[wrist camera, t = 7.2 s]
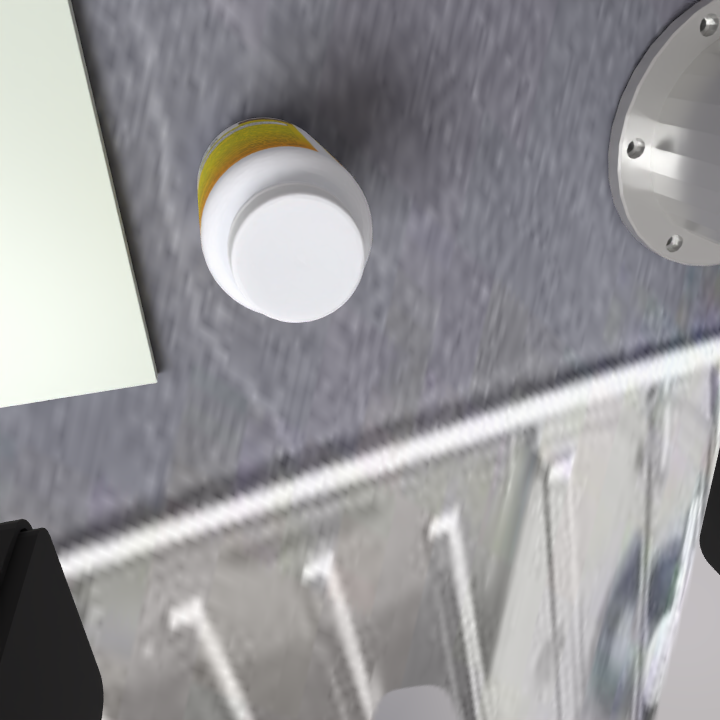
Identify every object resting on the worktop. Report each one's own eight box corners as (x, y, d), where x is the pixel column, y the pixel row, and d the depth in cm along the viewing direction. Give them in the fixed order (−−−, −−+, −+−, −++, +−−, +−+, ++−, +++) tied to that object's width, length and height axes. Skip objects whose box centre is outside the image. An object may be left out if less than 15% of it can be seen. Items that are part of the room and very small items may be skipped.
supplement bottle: (170, 201, 28) (162, 286, 19) (246, 85, 26) (275, 118, 18) (281, 272, 30) (319, 378, 21) (355, 169, 29) (429, 236, 20)
